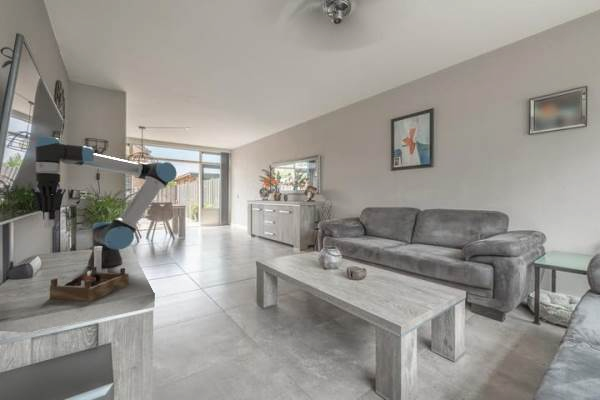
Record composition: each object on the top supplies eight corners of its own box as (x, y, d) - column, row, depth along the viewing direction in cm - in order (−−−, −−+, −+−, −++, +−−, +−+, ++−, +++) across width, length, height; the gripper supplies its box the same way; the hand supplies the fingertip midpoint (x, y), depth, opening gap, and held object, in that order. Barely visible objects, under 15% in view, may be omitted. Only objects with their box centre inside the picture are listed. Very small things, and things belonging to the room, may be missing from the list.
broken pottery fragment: (86, 299, 96) (72, 281, 94) (68, 307, 98) (54, 290, 96) (112, 281, 107) (100, 264, 106) (95, 288, 109) (83, 272, 108)
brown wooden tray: (92, 282, 112) (93, 266, 112) (128, 284, 111) (128, 268, 111) (49, 298, 94) (50, 279, 94) (91, 300, 93) (91, 281, 93)
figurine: (107, 275, 122) (107, 244, 122) (107, 281, 115) (108, 247, 115) (87, 278, 118) (87, 245, 118) (86, 284, 110) (87, 248, 110)
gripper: (24, 172, 109) (25, 228, 109) (55, 172, 108) (56, 228, 109) (42, 173, 116) (43, 225, 117) (71, 173, 116) (71, 226, 117)
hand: (49, 227), depth 113 cm, fingers closed
